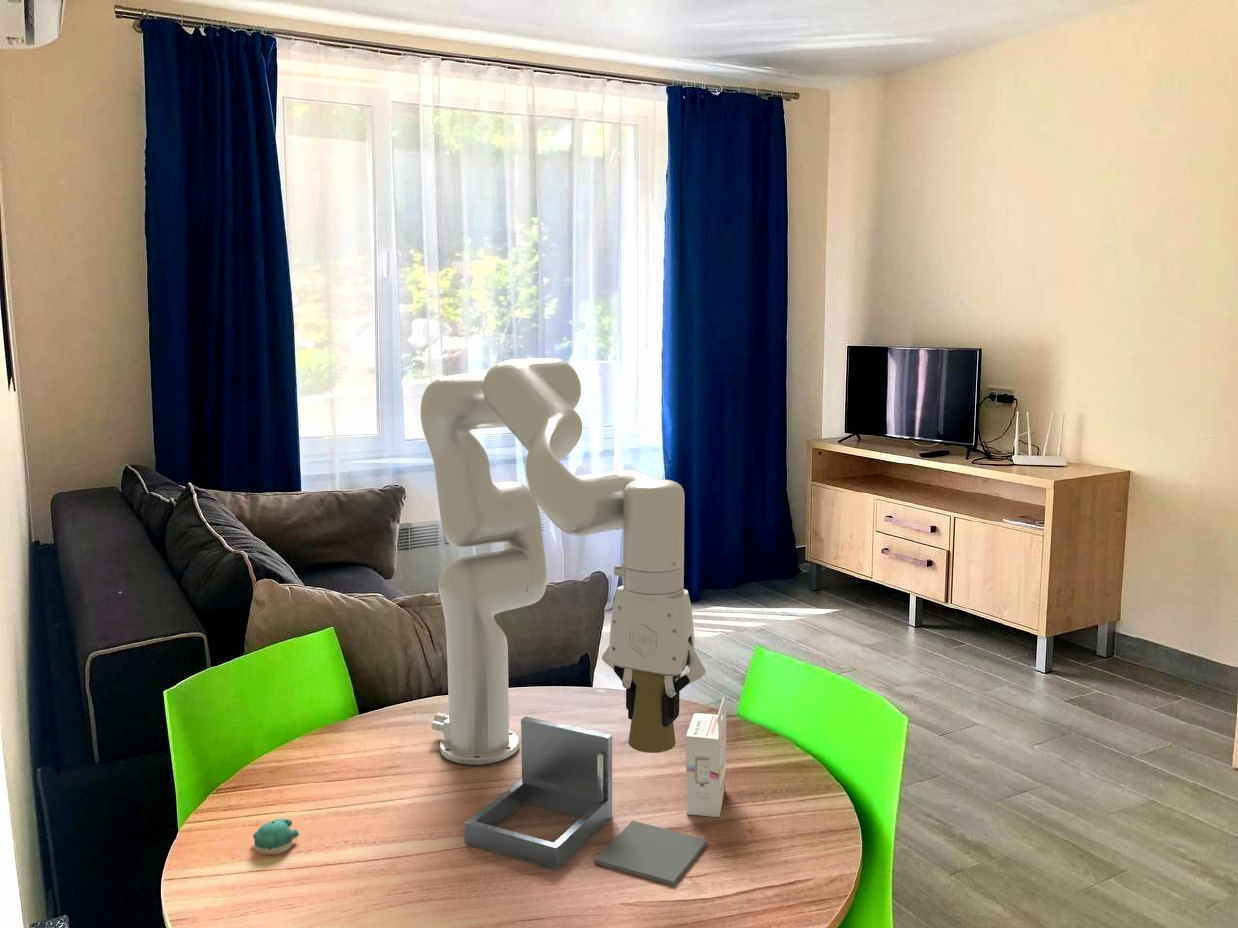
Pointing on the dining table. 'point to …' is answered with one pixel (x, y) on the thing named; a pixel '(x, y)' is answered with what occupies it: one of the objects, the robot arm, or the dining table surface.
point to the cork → (649, 715)
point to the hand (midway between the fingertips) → (652, 717)
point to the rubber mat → (651, 852)
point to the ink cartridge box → (706, 763)
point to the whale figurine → (274, 837)
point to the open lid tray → (551, 792)
